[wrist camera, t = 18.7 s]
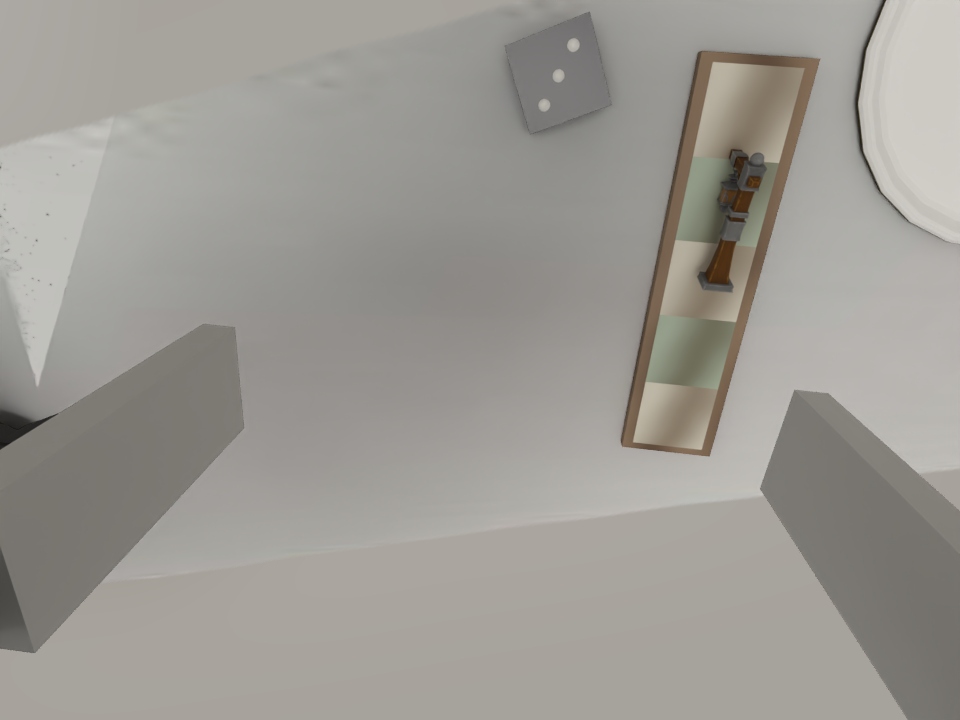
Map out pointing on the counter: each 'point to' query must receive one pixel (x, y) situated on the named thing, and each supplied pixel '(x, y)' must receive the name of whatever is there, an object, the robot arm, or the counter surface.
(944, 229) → the plate
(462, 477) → the counter surface
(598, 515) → the counter surface
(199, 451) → the robot arm
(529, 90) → the die
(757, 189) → the lantern lamp post
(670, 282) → the board
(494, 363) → the counter surface
